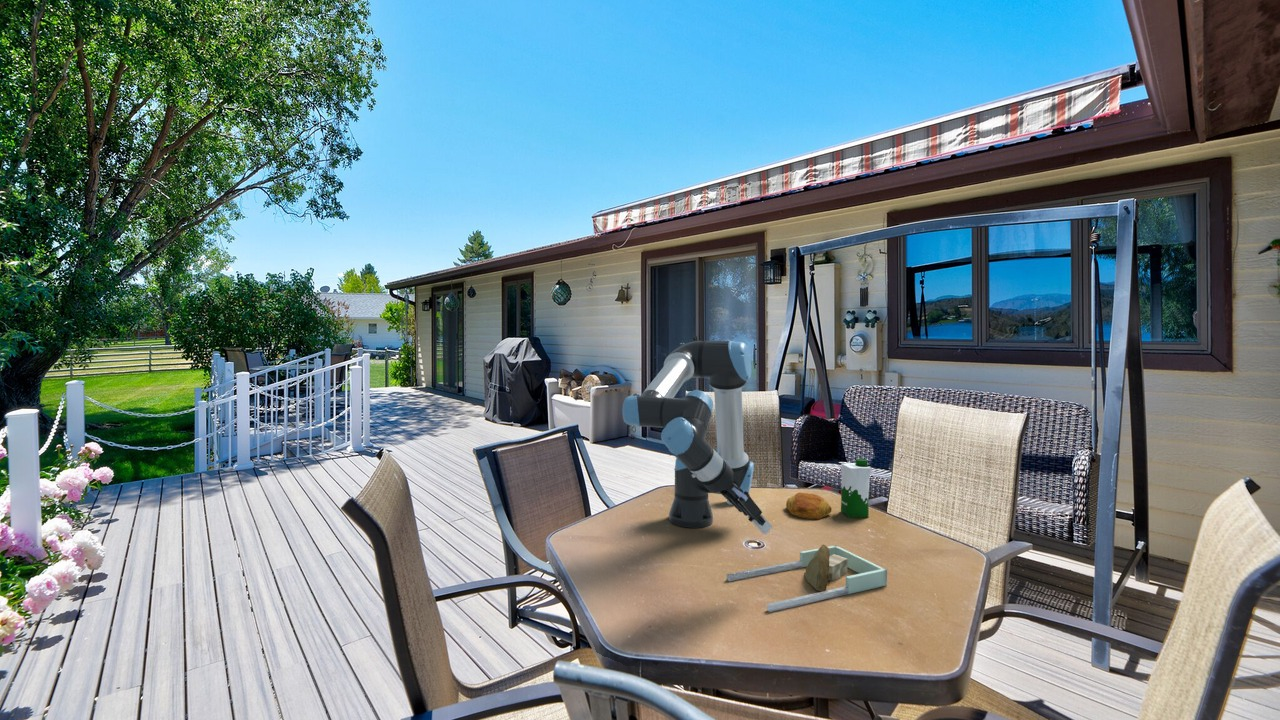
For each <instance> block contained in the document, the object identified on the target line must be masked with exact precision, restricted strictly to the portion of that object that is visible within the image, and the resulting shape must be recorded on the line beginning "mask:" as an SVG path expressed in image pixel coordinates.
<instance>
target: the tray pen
mask: <svg viewBox="0 0 1280 720" xmlns="http://www.w3.org/2000/svg"><path fill="white" fill-rule="evenodd" d="M827 547H828V548H829V550H830V556H831V555H833V554H835V555H838V556H841V557H844V558H847V559H848V564H847V569H850V570H852V571H854V572H856V573H857V574H852V575H848V576H846V577H845V586H846V587H847V588H849V592H848V594H847V595H850V594H855V593H858V592H860V593H861V592H863V591H867V590H871V589H873V590H874V589H876V588H880V587H885V586H887V585H888V584H887V583H888V581H887V580H888V569H885V568H884V567H882V566H880V565H878V564H875V563H873V562H872V561H870V560H867V559H865V558H863V557H861V556H858V555H857V554H855V553H853V552H850V551H849V550H847V549H845V548H842V547H840V546H838V545H830V546H827ZM819 548H820V547H819ZM819 548H814V549H808V550H803V551H799V561H801V562H802V567H801V568H805V567H806V568H807V566H808V564H809V562H810V561H811V559H812V558H813V557H814V555H815V553H816V552H817V551H818V549H819Z"/></svg>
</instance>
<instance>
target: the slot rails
mask: <svg viewBox="0 0 1280 720" xmlns="http://www.w3.org/2000/svg"><path fill="white" fill-rule="evenodd" d="M801 568H803V567H802V562H801V561H800V560H797V561H790V562H785V563H781V564H776V565H770V566H765V567H759V568H753V569H749V570H743V571H737V572H733V573H728V574H726V581H727V582H733V581H739V580H745V579H749V578H754V577H759V576H764V575H770V574H775V573H780V572H786V571H790V570H796V569H801ZM848 592H849V588H847V587H846V585H844V586H842V587H837V588H832V589H828V590H826V591H823V592H822V591H818V592H814V593H811V594H805V595H801V596H796V597H792V598H787V599H784V600H779V601H774V602H771V603H767V604H766V611H767V612H769V613H773V612H777V611H781V610H786V609H789V608H795V607H798V606H803V605H808V604H812V603H815V602H819V601H825V600H829V599H834V598H838V597H841V596H847V595H849V594H848Z"/></svg>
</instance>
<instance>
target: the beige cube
mask: <svg viewBox="0 0 1280 720" xmlns="http://www.w3.org/2000/svg"><path fill="white" fill-rule="evenodd" d="M829 559H831V560H834V561H837V562H840V577H839V578H841V577H842V576H844V575H846V574H848V567H847V564H848V559H847V558H844V557H841V556H838V555H835V554H833V555H831V556H829Z"/></svg>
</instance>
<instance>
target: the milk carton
mask: <svg viewBox="0 0 1280 720" xmlns="http://www.w3.org/2000/svg"><path fill="white" fill-rule="evenodd" d="M868 464H869V463H868V459H866V458H856V459H855V462H853V463H852V462H848V463H840V465H841V466H840V467H841V492H840V497H841V498H840V512H841V513H842V514H844V515H846V516H847V517H848V518H850V519H851V518H857V519H858V518H869V513H870V511H869V507H870V506H869V504H870V503H869V501H870V498H869V497H870V477H871V473H872V467H870V466H869V465H868Z"/></svg>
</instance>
